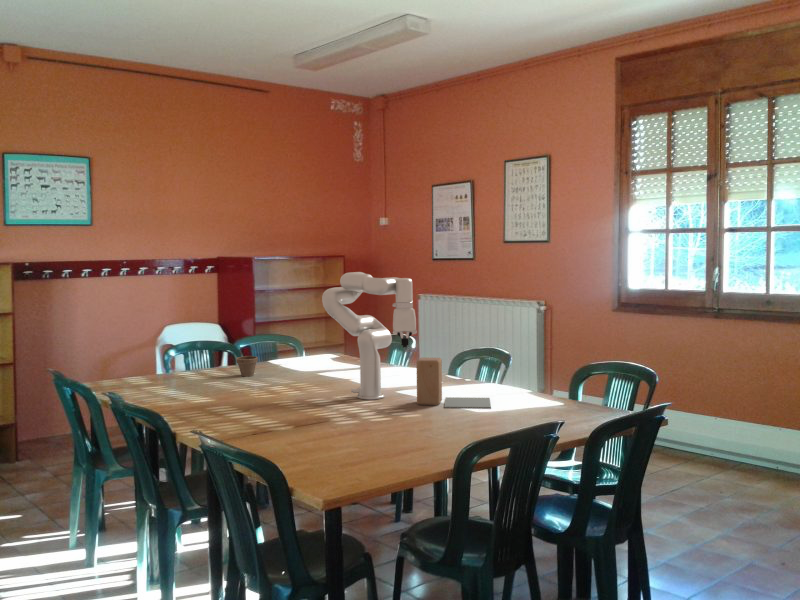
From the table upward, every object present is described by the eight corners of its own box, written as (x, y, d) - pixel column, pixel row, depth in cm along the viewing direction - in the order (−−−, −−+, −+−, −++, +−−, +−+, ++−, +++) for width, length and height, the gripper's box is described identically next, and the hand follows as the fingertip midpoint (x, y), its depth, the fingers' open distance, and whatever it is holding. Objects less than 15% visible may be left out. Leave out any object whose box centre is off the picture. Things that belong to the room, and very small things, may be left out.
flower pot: (249, 378, 413) (249, 359, 412) (232, 376, 418) (232, 358, 417) (262, 374, 423) (261, 356, 423) (245, 373, 428) (245, 355, 428)
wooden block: (438, 405, 338) (438, 360, 337) (416, 405, 340) (416, 360, 339) (442, 401, 348) (441, 357, 347) (420, 400, 350) (420, 357, 349)
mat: (444, 408, 334) (444, 406, 334) (445, 398, 353) (445, 397, 353) (490, 408, 332) (490, 407, 332) (489, 399, 352) (489, 397, 352)
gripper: (386, 306, 339) (387, 348, 340) (420, 306, 337) (421, 348, 339) (388, 305, 346) (389, 346, 347) (421, 305, 345) (422, 345, 346)
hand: (405, 346), depth 343 cm, fingers closed
